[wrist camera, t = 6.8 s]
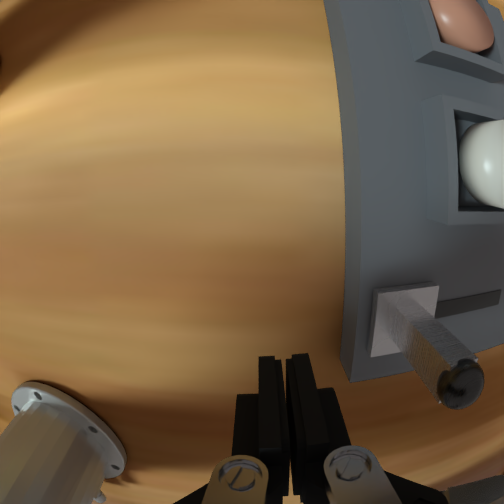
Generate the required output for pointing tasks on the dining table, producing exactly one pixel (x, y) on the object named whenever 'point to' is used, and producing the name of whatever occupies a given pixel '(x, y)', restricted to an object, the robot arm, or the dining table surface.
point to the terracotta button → (462, 24)
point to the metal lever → (424, 343)
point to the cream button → (483, 162)
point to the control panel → (414, 172)
